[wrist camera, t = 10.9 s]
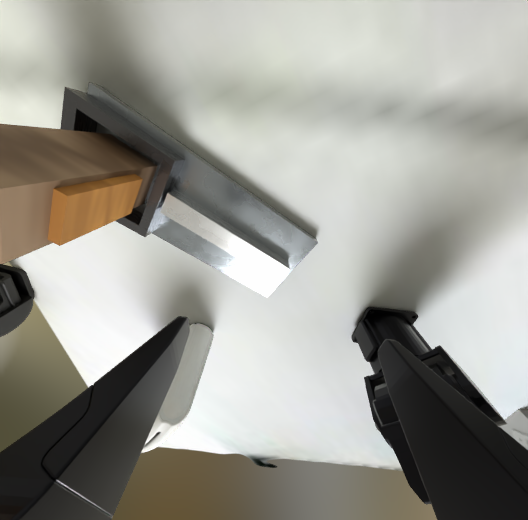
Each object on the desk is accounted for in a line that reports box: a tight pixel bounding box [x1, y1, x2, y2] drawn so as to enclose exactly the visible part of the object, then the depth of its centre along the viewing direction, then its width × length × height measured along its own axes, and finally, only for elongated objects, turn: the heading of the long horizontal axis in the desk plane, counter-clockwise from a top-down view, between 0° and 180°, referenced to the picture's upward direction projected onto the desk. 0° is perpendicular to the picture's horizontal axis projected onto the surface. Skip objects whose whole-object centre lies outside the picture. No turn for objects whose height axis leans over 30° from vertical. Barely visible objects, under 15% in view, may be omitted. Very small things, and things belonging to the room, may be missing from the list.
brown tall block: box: [0, 124, 158, 264], centre depth 12 cm, size 5×4×11 cm
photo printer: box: [142, 323, 214, 452], centre depth 24 cm, size 10×4×12 cm, turn 140°
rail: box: [61, 82, 318, 297], centre depth 18 cm, size 22×9×3 cm, turn 56°
